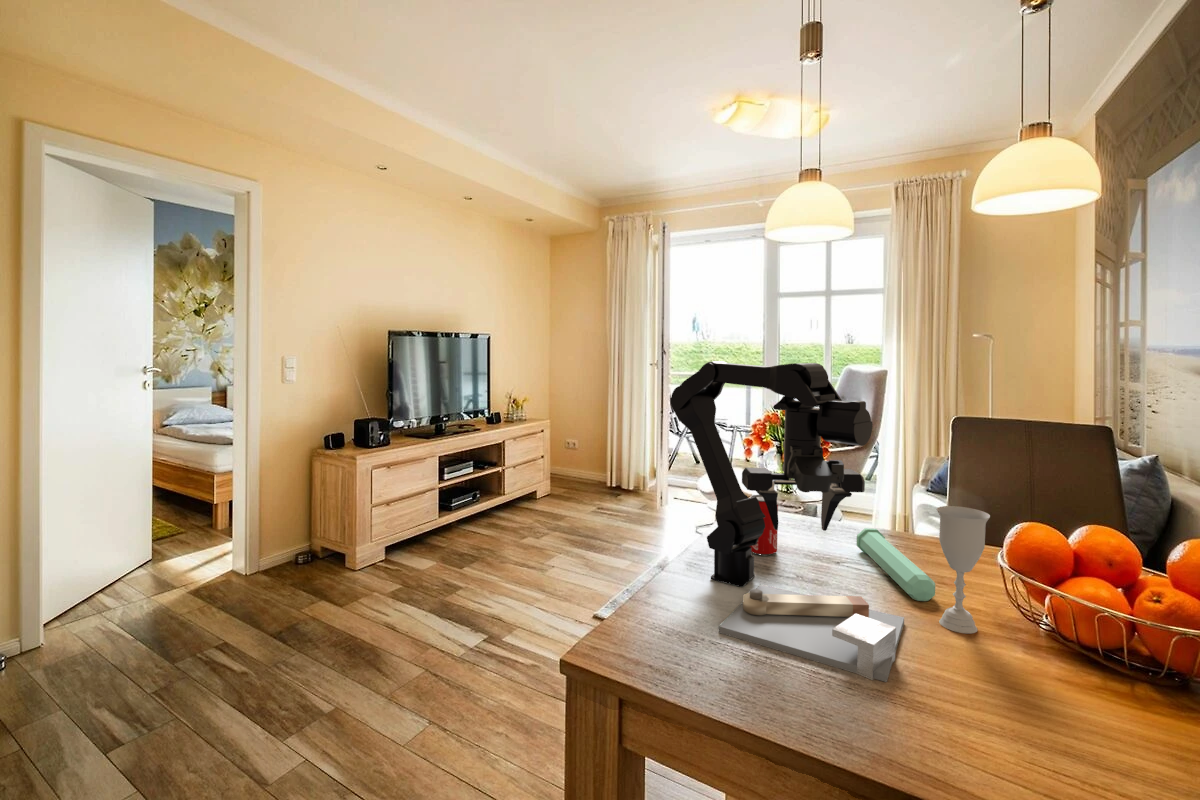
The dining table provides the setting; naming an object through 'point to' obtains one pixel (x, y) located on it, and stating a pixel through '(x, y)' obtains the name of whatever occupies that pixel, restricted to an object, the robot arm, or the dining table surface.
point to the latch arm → (803, 604)
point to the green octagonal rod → (896, 565)
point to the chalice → (961, 557)
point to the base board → (805, 634)
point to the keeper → (868, 642)
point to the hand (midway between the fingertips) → (799, 529)
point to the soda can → (766, 532)
